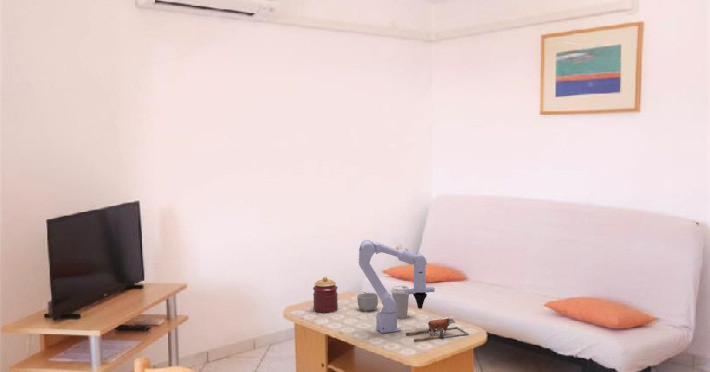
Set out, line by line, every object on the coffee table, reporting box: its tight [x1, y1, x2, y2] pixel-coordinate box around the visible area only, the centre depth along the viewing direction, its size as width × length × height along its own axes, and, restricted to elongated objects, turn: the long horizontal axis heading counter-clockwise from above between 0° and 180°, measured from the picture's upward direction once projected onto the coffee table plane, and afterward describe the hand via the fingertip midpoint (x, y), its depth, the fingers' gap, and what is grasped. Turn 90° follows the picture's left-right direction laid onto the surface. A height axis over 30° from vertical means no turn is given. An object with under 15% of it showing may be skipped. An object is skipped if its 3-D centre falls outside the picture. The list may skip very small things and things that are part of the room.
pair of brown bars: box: [405, 329, 444, 343], centre depth 280 cm, size 14×12×4 cm
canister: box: [312, 276, 339, 314], centre depth 325 cm, size 13×13×18 cm
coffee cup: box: [390, 285, 410, 319], centre depth 310 cm, size 10×10×15 cm
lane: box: [436, 326, 470, 339], centre depth 284 cm, size 13×11×1 cm
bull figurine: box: [427, 315, 456, 336], centre depth 283 cm, size 4×13×8 cm, turn 106°
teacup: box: [356, 292, 379, 312], centre depth 325 cm, size 14×11×8 cm
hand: (419, 308), depth 291 cm, fingers closed
